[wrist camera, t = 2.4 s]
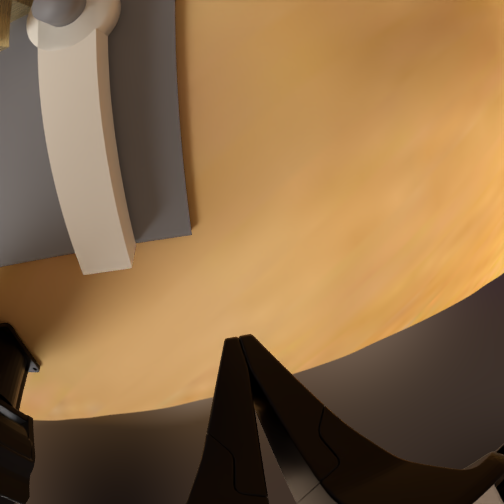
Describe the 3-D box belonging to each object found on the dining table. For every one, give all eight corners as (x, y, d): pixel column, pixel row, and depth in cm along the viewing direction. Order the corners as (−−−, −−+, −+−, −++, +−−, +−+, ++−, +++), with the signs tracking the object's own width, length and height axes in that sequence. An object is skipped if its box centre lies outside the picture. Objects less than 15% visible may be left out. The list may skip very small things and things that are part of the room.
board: (191, 230, 18) (191, 234, 18) (-41, 271, 14) (-44, 275, 14) (178, -81, 7) (178, -86, 6) (-80, 35, 3) (-84, 36, 2)
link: (47, -2, 7) (14, -20, 4) (122, -25, 8) (107, -56, 5) (82, 254, 16) (65, 297, 13) (147, 243, 17) (141, 287, 13)
